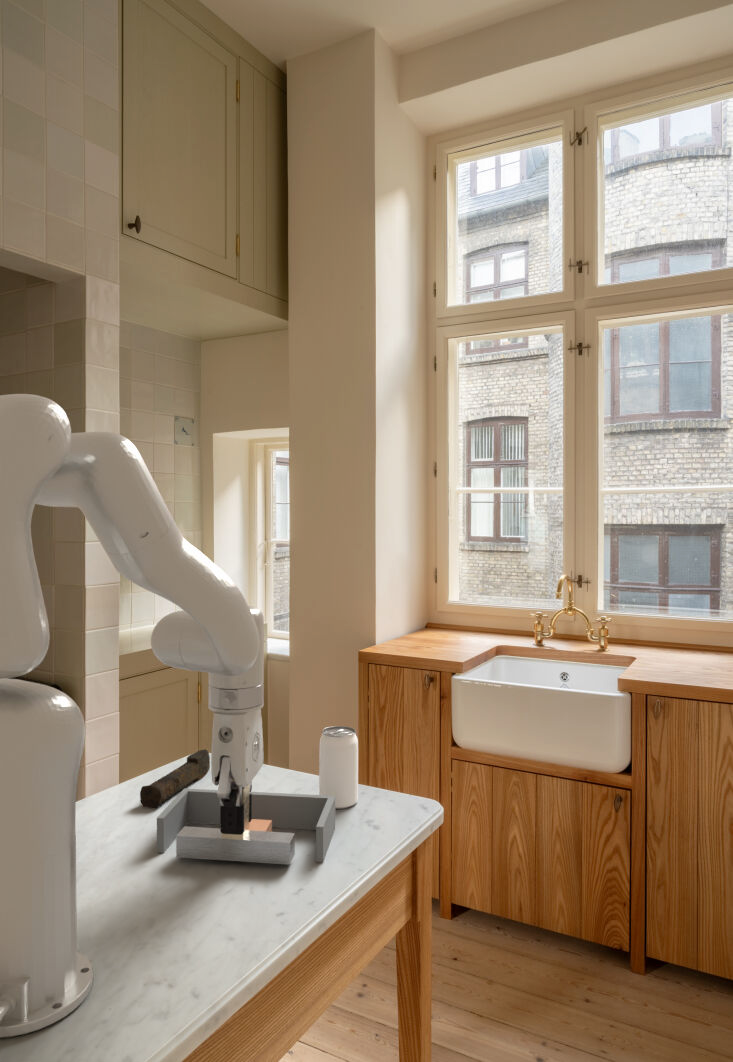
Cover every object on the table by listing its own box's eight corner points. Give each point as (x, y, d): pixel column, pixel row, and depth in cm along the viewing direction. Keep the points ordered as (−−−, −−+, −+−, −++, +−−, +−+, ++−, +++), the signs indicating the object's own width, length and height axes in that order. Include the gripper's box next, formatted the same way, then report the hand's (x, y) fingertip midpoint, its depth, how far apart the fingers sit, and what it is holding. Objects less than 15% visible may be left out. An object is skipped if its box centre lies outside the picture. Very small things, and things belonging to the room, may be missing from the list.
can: (365, 801, 124) (366, 730, 123) (338, 813, 119) (338, 739, 119) (338, 791, 128) (338, 722, 128) (311, 802, 123) (311, 731, 123)
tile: (261, 859, 104) (261, 838, 104) (220, 856, 105) (220, 835, 104) (271, 840, 110) (271, 820, 110) (232, 837, 110) (232, 817, 110)
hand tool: (159, 812, 120) (159, 783, 120) (138, 808, 121) (138, 780, 121) (221, 773, 138) (222, 748, 137) (203, 770, 139) (203, 745, 139)
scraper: (289, 864, 100) (290, 791, 100) (176, 857, 102) (176, 785, 102) (294, 854, 103) (295, 783, 103) (184, 847, 105) (184, 777, 105)
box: (323, 862, 103) (323, 826, 102) (156, 852, 105) (156, 817, 105) (335, 828, 114) (335, 795, 113) (184, 819, 116) (184, 788, 116)
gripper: (246, 713, 93) (246, 856, 94) (276, 682, 110) (276, 805, 110) (189, 711, 94) (189, 853, 95) (227, 681, 110) (227, 802, 111)
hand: (236, 826), depth 103 cm, fingers closed on scraper, 3 cm apart
